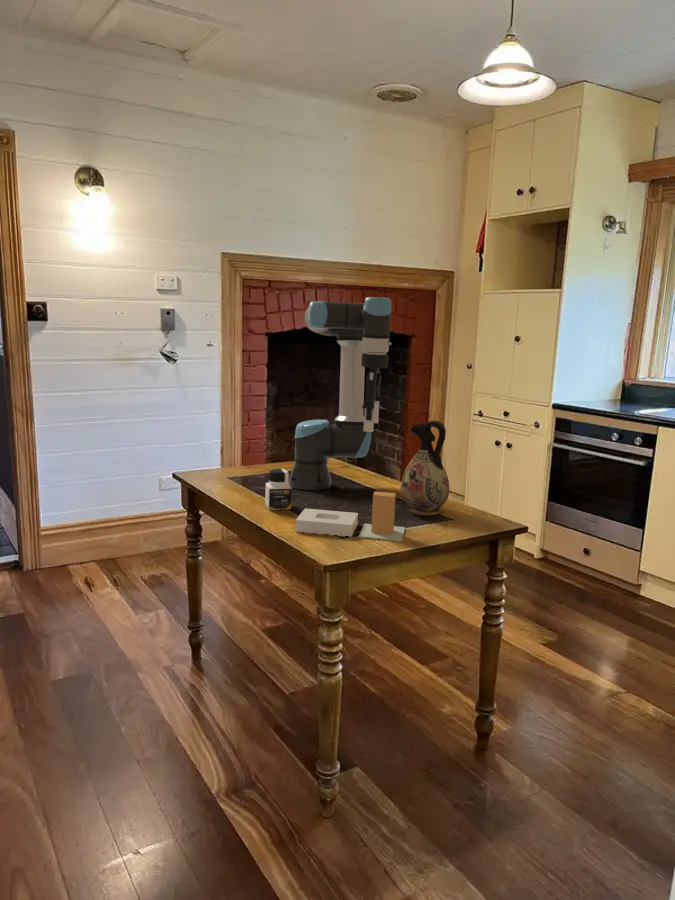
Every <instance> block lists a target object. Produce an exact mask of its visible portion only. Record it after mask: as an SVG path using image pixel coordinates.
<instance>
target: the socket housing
mask: <svg viewBox="0 0 675 900" xmlns="http://www.w3.org/2000/svg"><path fill="white" fill-rule="evenodd" d="M358 519H359V513H358V512H351V511H350V512H349V511H340V510H339V511H336V510H327V509H326V510H325V509H317V508H316V509H315V508H307V507H305V508H304V509H303V510H302V511H301V513H300V514H299V515H298V517H297V518H296V519H295V533H302V532H304V533H305V534H313V533H317V534H316V535H324V534H329V535H328V536H334V535H337V536H336V537H345V536H349V537H348V538H352V537H353V535H354V533H355V530H356V529H357V526H358V525H359V524H358V521H359V520H358Z"/></svg>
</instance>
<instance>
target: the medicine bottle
mask: <svg viewBox="0 0 675 900" xmlns="http://www.w3.org/2000/svg"><path fill="white" fill-rule="evenodd" d="M289 473H290V472H289V471H288V470H286V469H285V468H272V469H271V470H270V471H269V472H268V482H265V491H264V493H265V499H264V503H265V505H266V507H267V509H268V511H280V509H282V510H283V509H286V510H291V509H292V495H293V494H292V493H293V487H291V486H290V485H289V476H290V475H289ZM282 510H281V511H282Z"/></svg>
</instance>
